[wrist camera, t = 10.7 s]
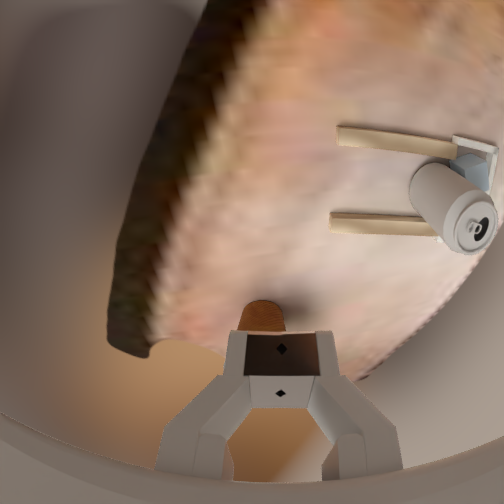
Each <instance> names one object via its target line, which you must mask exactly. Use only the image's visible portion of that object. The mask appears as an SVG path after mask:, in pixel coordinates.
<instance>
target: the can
mask: <svg viewBox="0 0 504 504" xmlns="http://www.w3.org/2000/svg"><path fill="white" fill-rule="evenodd" d="M409 195H410V201H411V204H412V206H413V208H414V209H415V210H416V211H417V212H418V213H419V214H420V215H421V216H422V217H423V218H424V219H425V221H426V222H427V223H428V224H429V225H430V226H431V227H432V228H433V229H434V231H435V232H436V233H437V234H438V235H439V236H440V238H441V239H442V240H443V241H444V242H445V243H446V245H447V246H448V247H449V248H450V249H451V250H452V251H454V252H457V253H462V254H464V255H474V254H477V253H479V252H481V251H482V250H484V249H485V248H486V247H487V246H488V245H489V244H490V243H491V241H492V239H493V238H494V236H495V234H496V231H497V227H498V214H497V211H496V209H495V207H494V203H493V201H492V199H491V197H490V196H489V195H488V194H487V193H485V192H484V191H483V190H481V189H480V188H478V187H477V186H475V185H474V184H473V183H471V182H470V181H468V180H467V179H465V178H464V177H462V176H461V175H459V174H458V173H456V172H455V171H453V170H451V169H450V168H448V167H447V166H445V165H444V164H441V163H435V162H434V163H430V164H427V165H425V166H423V167H422V168H420V169H419V170H418V172H417V173H416V174H415V175H414V177H413V179H412V181H411V184H410V189H409Z"/></svg>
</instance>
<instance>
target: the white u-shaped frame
mask: <svg viewBox="0 0 504 504" xmlns="http://www.w3.org/2000/svg"><path fill="white" fill-rule="evenodd" d="M452 143H454V144H457V145H460V146H464V147H469V148H473V149H477V150H481V151H485V152H487V155H486V160H485V161H487V167H488V177H489V190H487V191H485V193H487V194H488V195H490V191H491V187H492V182H493V177H494V173H495V168H496V162H497V157H498V151H499V148H498V147H496V146H493V145H490V144H487V143H483V142H479V141H475V140H472V139H468V138H463V137H459V136H455V135H453V137H452ZM432 237H433V239H434V240H435V241H436V242H439V243H445V242H444V241H443V240H442V239H441V238H440V236H432Z"/></svg>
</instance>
